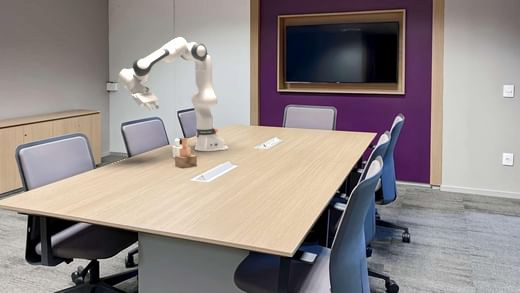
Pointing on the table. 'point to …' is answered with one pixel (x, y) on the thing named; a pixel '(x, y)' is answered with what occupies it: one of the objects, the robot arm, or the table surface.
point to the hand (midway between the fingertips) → (155, 108)
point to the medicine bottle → (177, 147)
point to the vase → (185, 148)
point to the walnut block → (185, 161)
